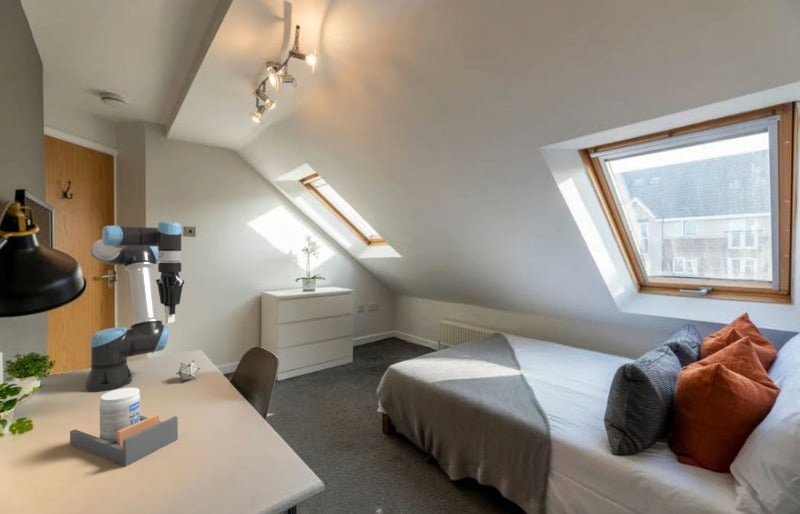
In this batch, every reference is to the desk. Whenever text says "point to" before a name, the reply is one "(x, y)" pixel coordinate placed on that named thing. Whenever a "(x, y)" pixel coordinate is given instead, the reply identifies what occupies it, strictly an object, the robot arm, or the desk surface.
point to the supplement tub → (118, 412)
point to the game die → (188, 371)
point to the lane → (129, 442)
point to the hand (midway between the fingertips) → (170, 322)
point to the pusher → (136, 428)
